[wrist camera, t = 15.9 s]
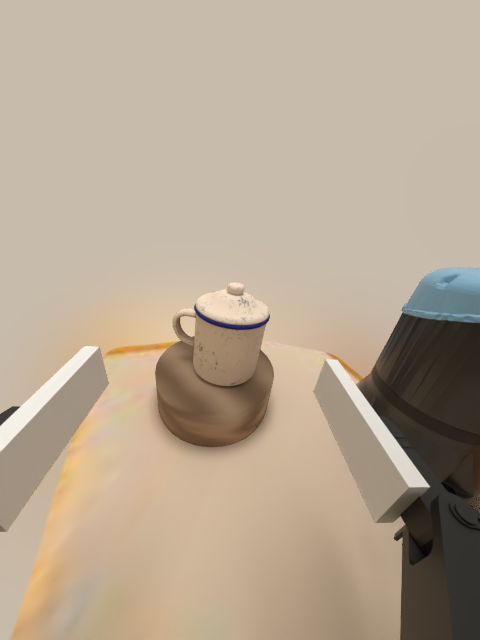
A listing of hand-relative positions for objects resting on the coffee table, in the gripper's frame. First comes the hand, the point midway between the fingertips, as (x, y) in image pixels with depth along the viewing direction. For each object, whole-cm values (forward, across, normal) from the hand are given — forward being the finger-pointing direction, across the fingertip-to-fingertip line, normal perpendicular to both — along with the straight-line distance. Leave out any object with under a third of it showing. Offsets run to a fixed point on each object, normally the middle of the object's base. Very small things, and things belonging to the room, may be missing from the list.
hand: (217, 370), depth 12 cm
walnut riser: (+13, 0, -17) cm, 21 cm away
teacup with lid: (+13, 0, -10) cm, 17 cm away
